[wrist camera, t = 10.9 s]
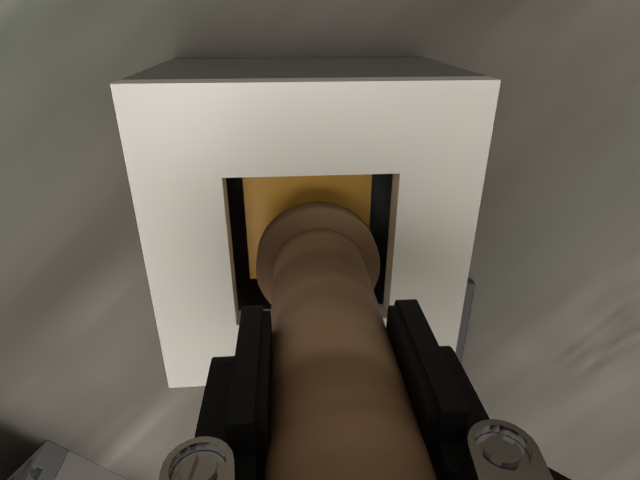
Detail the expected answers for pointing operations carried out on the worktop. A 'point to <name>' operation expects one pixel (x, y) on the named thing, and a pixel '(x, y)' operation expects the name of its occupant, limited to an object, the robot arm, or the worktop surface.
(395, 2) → the worktop surface
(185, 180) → the square socket block
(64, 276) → the worktop surface
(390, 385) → the wooden pepper mill
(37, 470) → the circuit breaker
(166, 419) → the worktop surface
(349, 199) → the button
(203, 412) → the robot arm
